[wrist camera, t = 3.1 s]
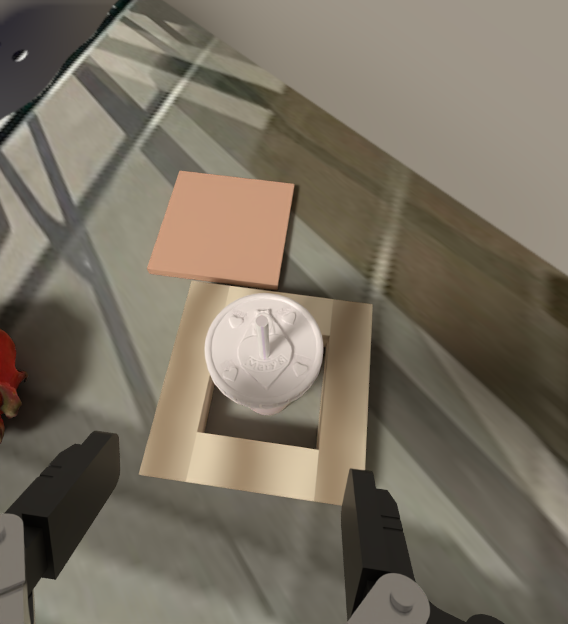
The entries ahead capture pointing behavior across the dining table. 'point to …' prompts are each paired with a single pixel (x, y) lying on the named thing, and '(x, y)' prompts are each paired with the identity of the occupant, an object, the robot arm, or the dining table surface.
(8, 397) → the dragon fruit
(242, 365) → the smoothie
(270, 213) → the coaster
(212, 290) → the block
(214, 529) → the dining table surface
